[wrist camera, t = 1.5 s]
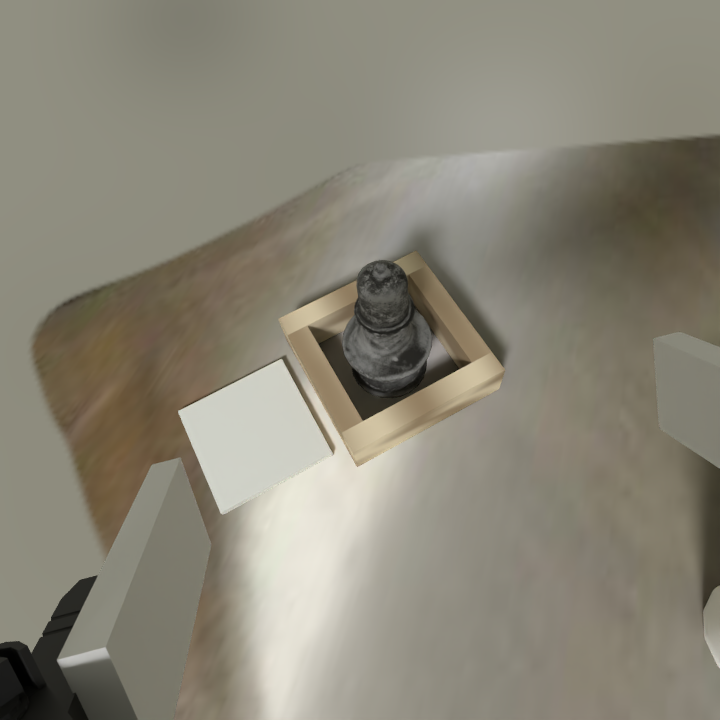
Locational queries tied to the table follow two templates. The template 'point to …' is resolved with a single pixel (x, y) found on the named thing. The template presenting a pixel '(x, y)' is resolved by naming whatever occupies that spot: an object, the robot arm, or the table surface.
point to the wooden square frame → (417, 410)
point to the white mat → (253, 435)
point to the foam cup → (713, 624)
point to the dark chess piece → (386, 333)
